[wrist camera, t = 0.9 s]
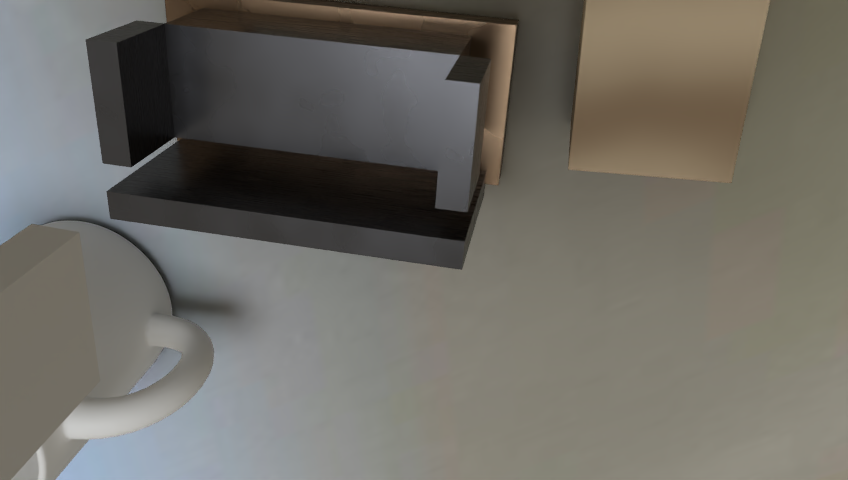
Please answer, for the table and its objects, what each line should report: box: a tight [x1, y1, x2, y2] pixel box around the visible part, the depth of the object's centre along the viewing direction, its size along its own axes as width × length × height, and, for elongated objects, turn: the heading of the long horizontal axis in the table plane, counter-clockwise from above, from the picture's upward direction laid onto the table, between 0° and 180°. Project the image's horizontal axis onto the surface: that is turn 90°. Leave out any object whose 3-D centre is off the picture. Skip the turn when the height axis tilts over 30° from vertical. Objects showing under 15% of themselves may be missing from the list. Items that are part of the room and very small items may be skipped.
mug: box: [11, 221, 214, 480], centre depth 32 cm, size 12×8×10 cm
